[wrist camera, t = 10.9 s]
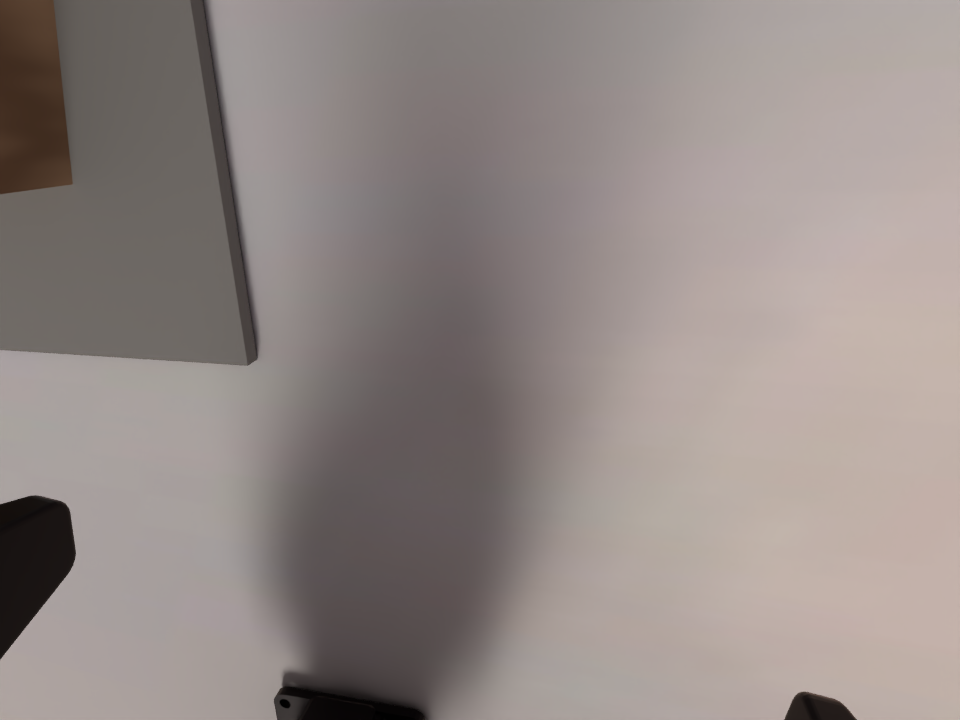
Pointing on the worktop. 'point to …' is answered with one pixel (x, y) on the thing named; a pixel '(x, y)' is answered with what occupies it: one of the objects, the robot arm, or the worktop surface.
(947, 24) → the worktop surface
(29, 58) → the walnut block
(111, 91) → the slate mat
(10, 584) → the robot arm
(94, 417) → the worktop surface
